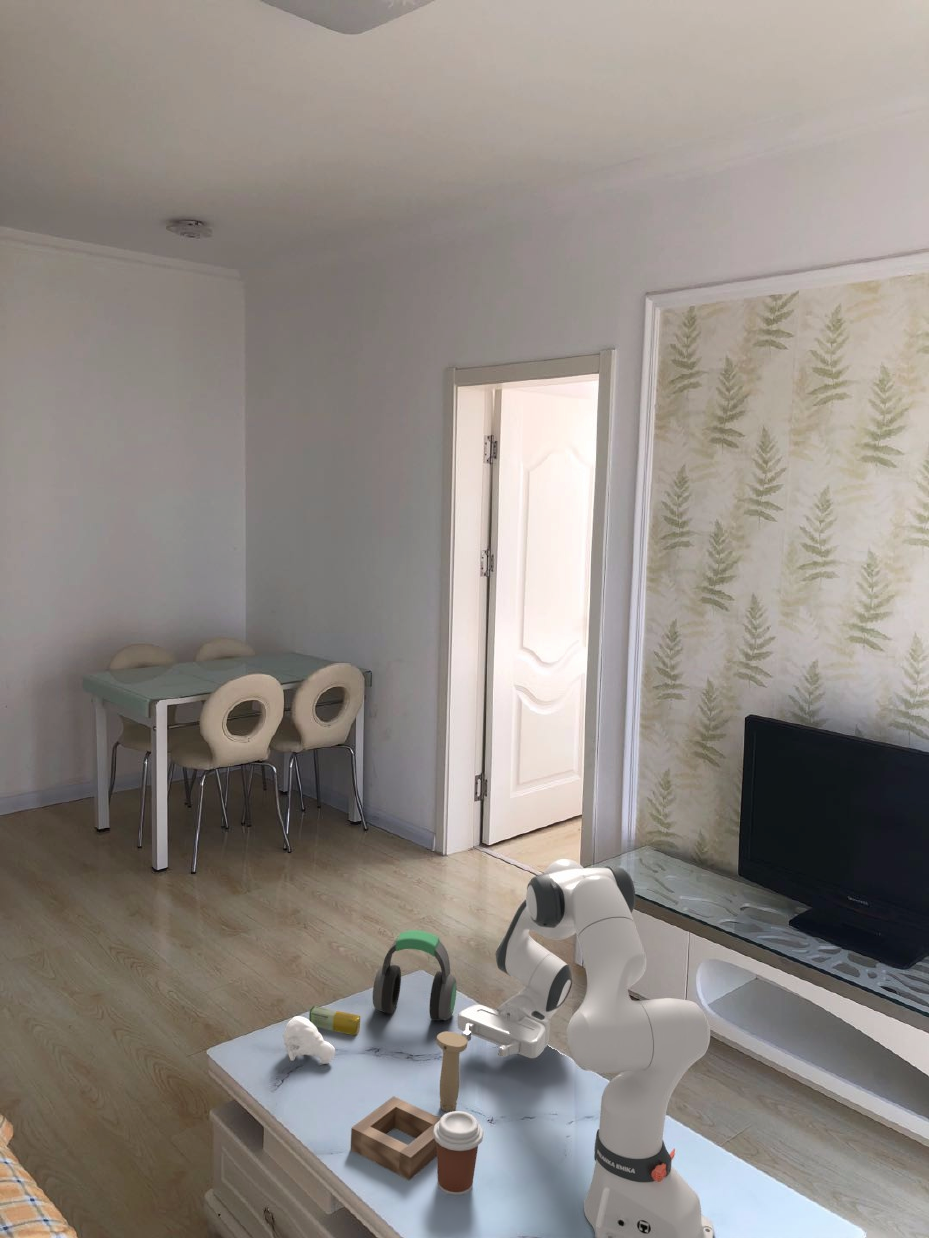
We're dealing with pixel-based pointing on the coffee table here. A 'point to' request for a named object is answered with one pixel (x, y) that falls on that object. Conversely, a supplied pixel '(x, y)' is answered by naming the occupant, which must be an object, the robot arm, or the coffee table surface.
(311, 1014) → the medication box
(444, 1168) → the coffee cup
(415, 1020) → the coffee table surface
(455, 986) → the headphones
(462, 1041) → the handle
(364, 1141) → the socket block
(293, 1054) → the white lumpy rounded piece
